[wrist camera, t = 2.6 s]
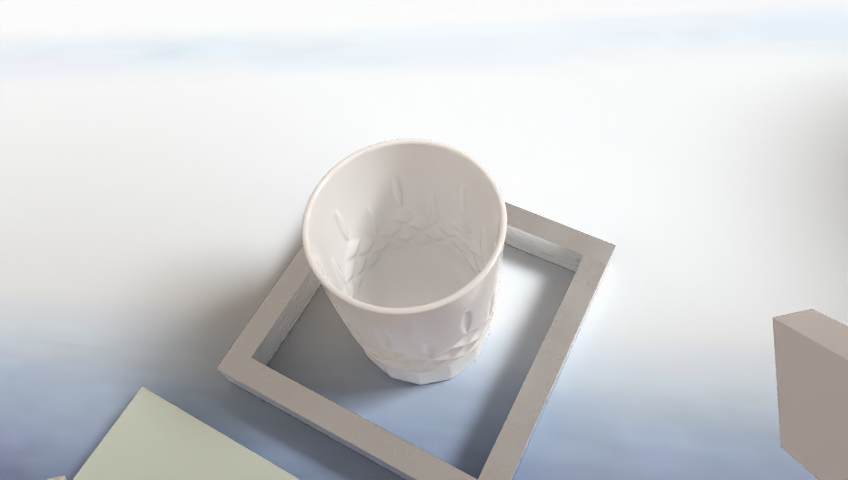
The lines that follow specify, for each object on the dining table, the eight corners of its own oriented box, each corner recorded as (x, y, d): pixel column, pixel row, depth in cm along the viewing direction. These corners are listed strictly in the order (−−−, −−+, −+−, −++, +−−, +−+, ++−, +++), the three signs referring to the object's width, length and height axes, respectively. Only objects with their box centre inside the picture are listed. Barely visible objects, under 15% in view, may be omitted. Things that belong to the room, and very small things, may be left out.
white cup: (502, 398, 31) (509, 314, 23) (340, 395, 32) (287, 312, 23) (500, 254, 35) (505, 136, 27) (355, 254, 36) (315, 139, 27)
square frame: (375, 170, 39) (369, 149, 37) (609, 264, 34) (615, 245, 33) (230, 381, 33) (216, 368, 31) (490, 527, 28) (491, 520, 27)
